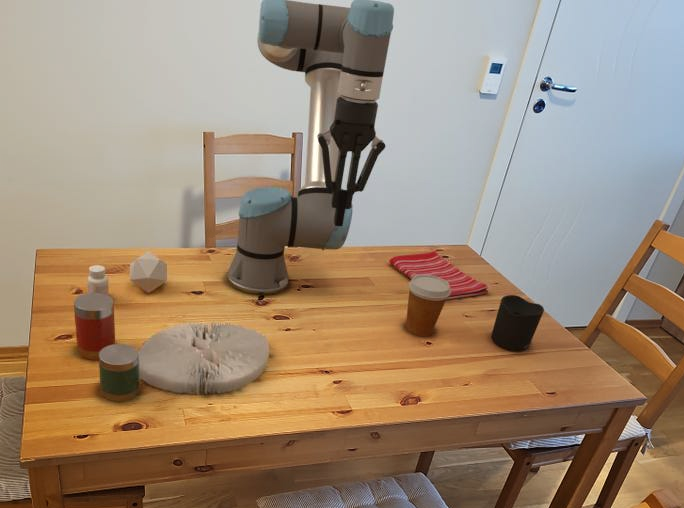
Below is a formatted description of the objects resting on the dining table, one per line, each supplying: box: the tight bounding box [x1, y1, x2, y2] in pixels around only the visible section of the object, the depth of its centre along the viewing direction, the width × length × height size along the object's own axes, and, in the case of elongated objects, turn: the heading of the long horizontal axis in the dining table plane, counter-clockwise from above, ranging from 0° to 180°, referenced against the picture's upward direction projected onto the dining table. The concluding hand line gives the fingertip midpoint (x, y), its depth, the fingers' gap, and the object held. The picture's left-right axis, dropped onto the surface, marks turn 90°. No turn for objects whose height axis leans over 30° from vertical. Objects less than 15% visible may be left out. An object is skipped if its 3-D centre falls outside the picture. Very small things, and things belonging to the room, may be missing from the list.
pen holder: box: [490, 294, 545, 353], centre depth 146 cm, size 9×9×10 cm
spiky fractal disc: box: [138, 320, 270, 396], centre depth 127 cm, size 22×28×3 cm
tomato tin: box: [73, 292, 116, 361], centre depth 124 cm, size 7×7×11 cm
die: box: [129, 250, 168, 294], centre depth 150 cm, size 8×9×10 cm
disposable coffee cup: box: [405, 275, 451, 337], centre depth 146 cm, size 10×10×12 cm
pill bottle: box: [87, 264, 110, 296], centre depth 142 cm, size 4×4×8 cm
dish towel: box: [389, 251, 489, 301], centre depth 174 cm, size 17×24×3 cm
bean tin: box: [98, 343, 140, 402], centre depth 115 cm, size 7×7×8 cm
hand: (338, 223), depth 127 cm, fingers closed
